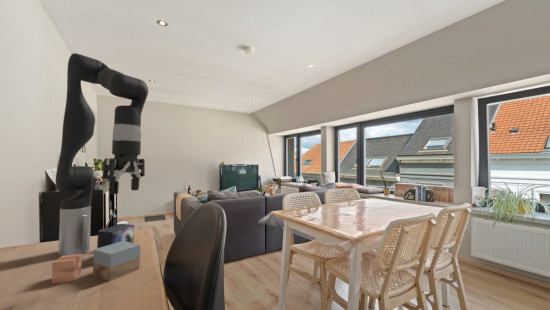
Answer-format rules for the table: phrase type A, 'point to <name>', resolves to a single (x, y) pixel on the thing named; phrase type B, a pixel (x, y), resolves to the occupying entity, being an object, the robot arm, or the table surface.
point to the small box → (115, 235)
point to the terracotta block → (66, 268)
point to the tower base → (115, 270)
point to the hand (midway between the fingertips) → (124, 192)
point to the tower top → (116, 254)
